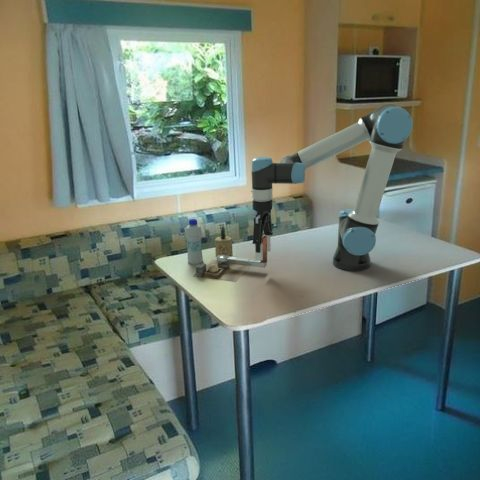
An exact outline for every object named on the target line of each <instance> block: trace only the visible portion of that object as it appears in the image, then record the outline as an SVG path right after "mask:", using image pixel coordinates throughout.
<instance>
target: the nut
mask: <svg viewBox="0 0 480 480" xmlns="http://www.w3.org/2000/svg"><path fill="white" fill-rule="evenodd" d="M218 271H219V268H218V266H217V265H215V264H212V265H210V266H209V272H210V273H218Z"/></svg>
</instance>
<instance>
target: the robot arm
mask: <svg viewBox="0 0 480 480" xmlns="http://www.w3.org/2000/svg"><path fill="white" fill-rule="evenodd" d="M413 123H414V122H413V119H412V117H411V114H410V113H409V112H408V111H407V110H406V109H405V108H403V107H400V106H397V105H394V104H384V105H381V106H379V107H377V108H376V109H374V110H373V111H372V110H371V112H369V113H367V114H365V115H364V116H361V117H359V119H358V121H357V122H356V123H353V124H352V125H349V126H348V127H345V128H344V129H343V128H342V129H341V130H339V131H338V132H336V133H335V132H334V133H333V134H332V135H329V136H328V137H325V138H323V139H321V140H319V141H317V142H315V143H313V144H311V145H309V146H307V147H304V148H303V149H301V150H298V151H297V152H295V153H293V154H291V155H287V156H284V157H283V158H282V159H281V160H280V162H274V161H273V158H272V157H269V156H257V157H254V158H253V159H252V160H251V190H250V192H251V194H252V198H251V199H252V202H251V203H252V205H251V206H252V210H253V211H255V212H256V214H255V217H253V232H252V234H253V235H252V245H254V256H255V257H254V259H255V260H263V246H262V244H261V243H262V236H267V252H271V249H272V248H271V247H272V246H271V236H273V234H274V233H273V225H272V210H273V185H275V184H277V185H278V184H279V185H280V184H281V185H282V184H283V185H287V184H289V185H290V184H291V185H292V184H294V185H299V184H304V183H305V182H306V181H305V180H306V170H308V169H310V168H312V167H314V166H316V165H318V164H320V163H322V162H325V161H326V160H329V159H330V158H333V157H335V156H337V155H339V154H341V153H343V152H346V151H347V150H350V149H352V148H353V147H356V146H358V145H360V144H362V143H364V142H367V141H368V142H369V144H370V146H371V150H370V153H369V157H368V159H367V162H366V165H365V166H366V167H365V169H364V173H363V176H362V180H361V183H360V187H359V190H358V193H357V196H356V197H357V198H356V200H355V204H354V207H353V208H347V209H342V210H340V211H339V213H338V232H337V247H336V249H335V251H334V255H333V257H332V265H333V266H334V267H336V268H337V267H338V269H340V268H341V269H340V270H343V269H346V270H345V271H350V270H358V271H363V270H362V269H364V270H367V269H369V268H370V267H371V261H372V260H371V256H370V252H372V251H373V249H374V248H375V246H376V244H377V239H376V238H377V237H376V233H377V230H378V227H379V223H380V221H379V219H378V218H377V215H378V213H379V209H380V206H381V203H382V199H383V196H384V193H385V190H386V187H387V184H388V181H389V179H390V178H389V177H390V174H391V172H392V167H393V166H394V165H393V164H394V161H395V158H396V155H397V153H399V152H401V151H403V148H404V145H405V142H406V140H407V138H409V136H410V135H411V132H412V130H413V128H414V127H413ZM369 266H370V267H369ZM368 267H369V268H368ZM366 268H367V269H366Z"/></svg>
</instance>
